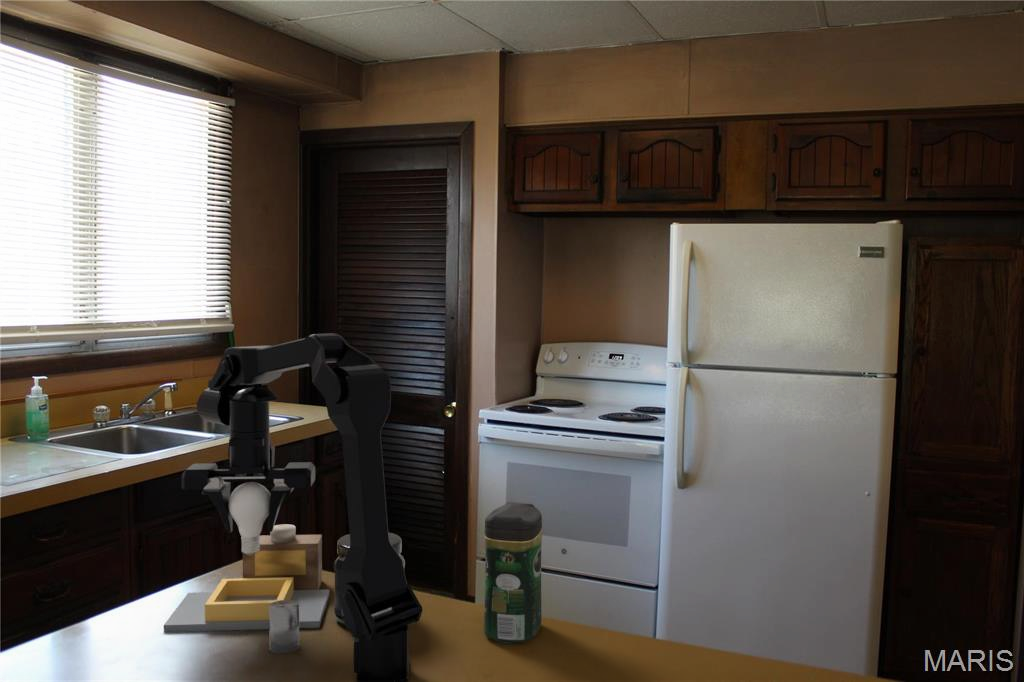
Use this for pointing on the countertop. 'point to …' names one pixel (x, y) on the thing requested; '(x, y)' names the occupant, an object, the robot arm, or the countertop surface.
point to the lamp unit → (287, 558)
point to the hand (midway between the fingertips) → (250, 531)
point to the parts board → (245, 605)
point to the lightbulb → (249, 513)
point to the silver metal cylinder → (283, 626)
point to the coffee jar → (513, 573)
